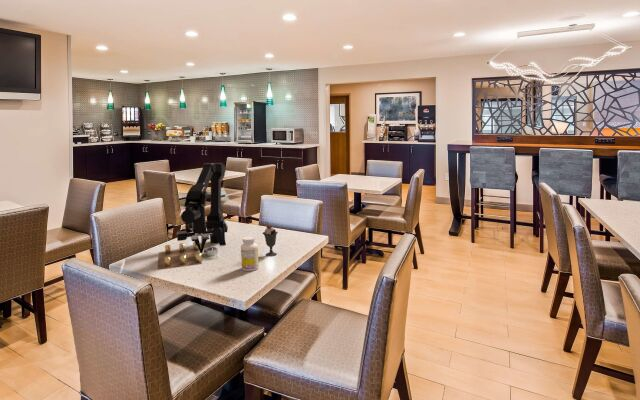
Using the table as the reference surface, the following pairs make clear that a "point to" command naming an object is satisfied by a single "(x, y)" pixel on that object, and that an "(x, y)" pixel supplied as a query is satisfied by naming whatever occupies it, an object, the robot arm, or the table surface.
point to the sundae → (270, 239)
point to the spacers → (182, 257)
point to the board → (177, 261)
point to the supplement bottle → (249, 254)
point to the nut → (210, 251)
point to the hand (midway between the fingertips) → (201, 252)
